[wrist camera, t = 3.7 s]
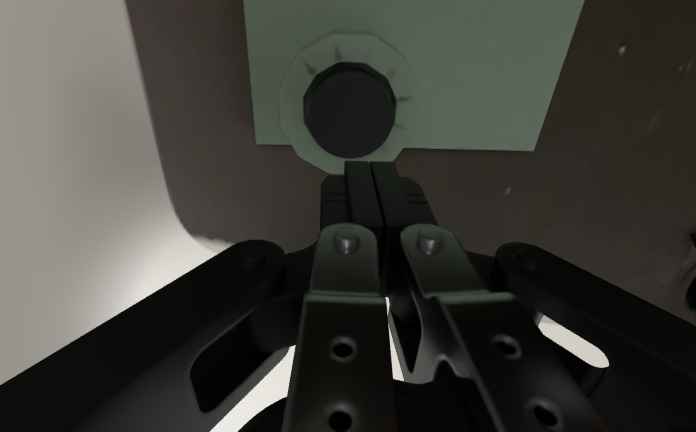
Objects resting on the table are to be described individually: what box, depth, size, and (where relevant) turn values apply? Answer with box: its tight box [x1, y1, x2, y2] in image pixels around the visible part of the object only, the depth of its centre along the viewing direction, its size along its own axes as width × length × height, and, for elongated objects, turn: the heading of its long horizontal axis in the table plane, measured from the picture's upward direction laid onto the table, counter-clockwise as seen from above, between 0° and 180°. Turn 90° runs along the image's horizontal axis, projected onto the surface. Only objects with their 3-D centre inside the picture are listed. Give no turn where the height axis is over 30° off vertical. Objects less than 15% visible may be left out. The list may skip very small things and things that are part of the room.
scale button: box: [308, 68, 394, 159], centre depth 18 cm, size 4×4×2 cm
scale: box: [243, 0, 585, 174], centre depth 18 cm, size 16×15×3 cm
